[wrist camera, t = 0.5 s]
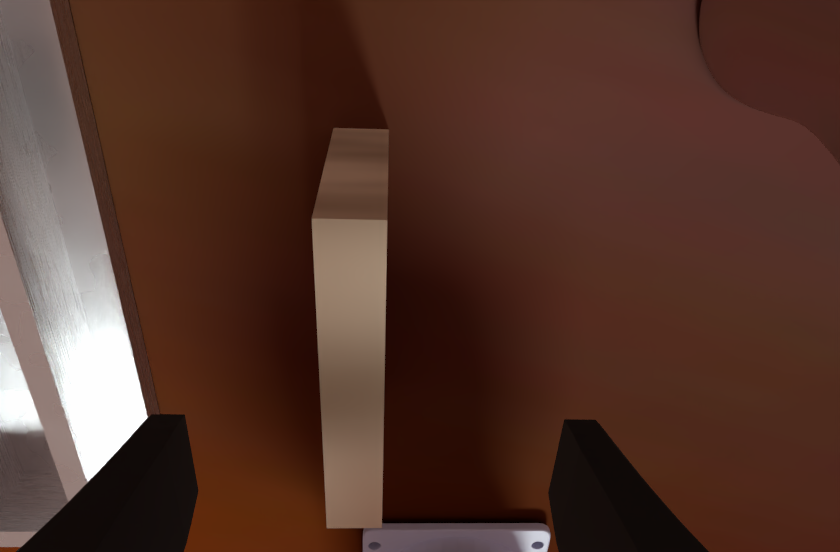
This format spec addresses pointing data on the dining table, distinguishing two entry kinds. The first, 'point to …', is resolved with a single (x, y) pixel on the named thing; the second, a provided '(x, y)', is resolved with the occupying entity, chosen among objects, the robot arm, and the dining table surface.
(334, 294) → the door panel
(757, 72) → the beer glass
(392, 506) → the dining table surface
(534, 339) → the dining table surface
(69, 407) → the door track
